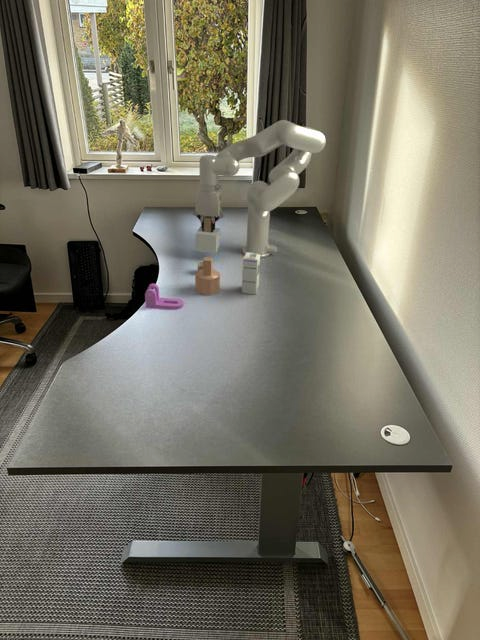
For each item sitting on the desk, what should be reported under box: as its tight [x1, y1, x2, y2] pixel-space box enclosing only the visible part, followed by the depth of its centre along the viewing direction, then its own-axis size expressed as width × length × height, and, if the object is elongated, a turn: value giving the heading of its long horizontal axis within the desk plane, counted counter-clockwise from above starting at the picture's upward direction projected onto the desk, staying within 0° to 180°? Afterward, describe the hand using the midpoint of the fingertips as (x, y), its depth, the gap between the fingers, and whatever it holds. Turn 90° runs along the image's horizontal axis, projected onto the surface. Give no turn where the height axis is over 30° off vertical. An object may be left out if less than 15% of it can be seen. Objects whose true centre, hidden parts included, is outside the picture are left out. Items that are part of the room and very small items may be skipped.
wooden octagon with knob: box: [194, 256, 221, 296], centre depth 183 cm, size 9×9×13 cm
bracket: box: [144, 283, 185, 310], centre depth 173 cm, size 13×6×7 cm, turn 86°
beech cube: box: [197, 261, 203, 271], centre depth 198 cm, size 4×4×4 cm
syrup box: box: [241, 252, 261, 295], centre depth 184 cm, size 6×6×14 cm
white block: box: [195, 215, 221, 254], centre depth 207 cm, size 9×9×14 cm
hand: (208, 230), depth 206 cm, fingers closed on white block, 3 cm apart
